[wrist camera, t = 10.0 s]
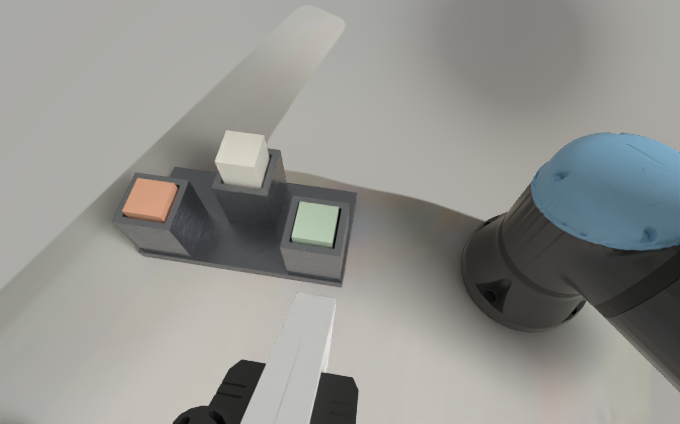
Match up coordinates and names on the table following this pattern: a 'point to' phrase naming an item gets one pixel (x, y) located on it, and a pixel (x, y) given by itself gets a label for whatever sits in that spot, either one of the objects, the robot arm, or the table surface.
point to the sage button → (316, 225)
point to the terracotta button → (150, 200)
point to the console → (242, 226)
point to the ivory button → (243, 159)
